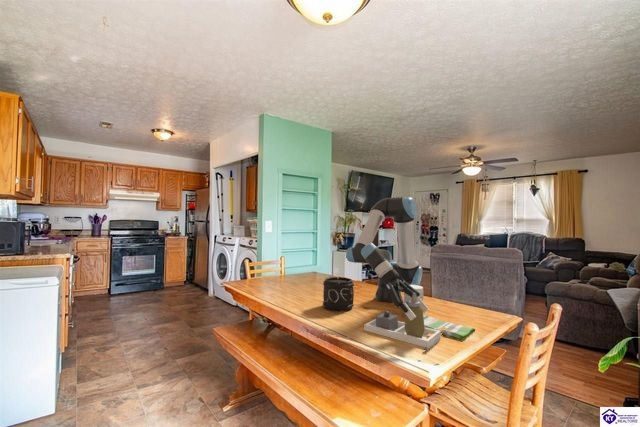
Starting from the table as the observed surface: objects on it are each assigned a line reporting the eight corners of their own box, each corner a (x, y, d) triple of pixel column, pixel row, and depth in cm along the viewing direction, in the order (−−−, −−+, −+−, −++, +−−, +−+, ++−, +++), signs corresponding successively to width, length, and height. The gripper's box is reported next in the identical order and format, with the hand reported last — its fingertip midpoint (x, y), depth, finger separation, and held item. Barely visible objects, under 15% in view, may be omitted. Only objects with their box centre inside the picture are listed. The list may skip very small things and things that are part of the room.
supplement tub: (400, 312, 160) (400, 284, 161) (416, 311, 163) (416, 284, 163) (410, 318, 151) (410, 288, 151) (427, 316, 153) (427, 288, 154)
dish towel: (426, 319, 151) (426, 312, 151) (475, 331, 135) (475, 323, 135) (410, 328, 138) (410, 320, 138) (462, 342, 122) (462, 333, 122)
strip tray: (380, 324, 142) (380, 316, 142) (440, 339, 124) (440, 331, 124) (364, 332, 131) (364, 324, 131) (427, 350, 113) (427, 341, 113)
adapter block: (383, 325, 137) (383, 308, 137) (397, 329, 132) (397, 311, 132) (375, 330, 131) (375, 311, 131) (390, 333, 127) (390, 314, 127)
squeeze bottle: (426, 335, 125) (426, 292, 126) (422, 342, 118) (422, 296, 119) (407, 331, 129) (406, 290, 130) (402, 338, 122) (401, 294, 123)
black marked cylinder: (343, 314, 156) (343, 284, 156) (316, 308, 167) (316, 280, 167) (360, 306, 170) (360, 279, 171) (334, 301, 181) (334, 275, 182)
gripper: (394, 275, 143) (425, 312, 133) (367, 282, 124) (400, 327, 114) (404, 265, 140) (437, 303, 130) (378, 271, 121) (414, 316, 111)
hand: (420, 314), depth 122 cm, fingers open, 13 cm apart
